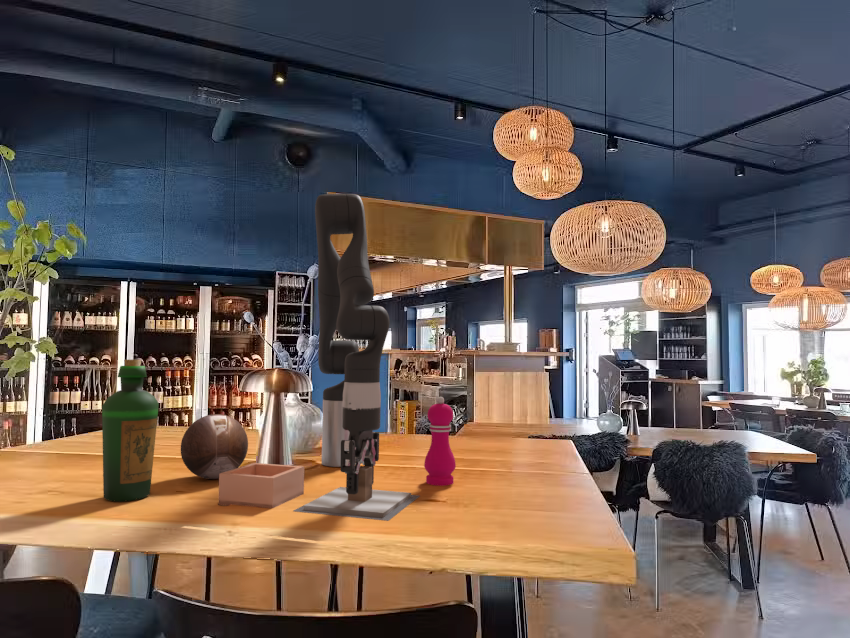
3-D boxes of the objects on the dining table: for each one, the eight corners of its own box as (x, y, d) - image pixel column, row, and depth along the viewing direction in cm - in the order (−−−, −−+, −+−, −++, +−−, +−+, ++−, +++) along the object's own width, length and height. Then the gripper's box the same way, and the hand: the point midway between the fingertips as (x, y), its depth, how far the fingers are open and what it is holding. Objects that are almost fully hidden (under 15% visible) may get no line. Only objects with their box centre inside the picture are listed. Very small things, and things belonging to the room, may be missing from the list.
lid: (340, 490, 123) (340, 458, 124) (411, 496, 119) (411, 463, 119) (303, 509, 108) (304, 472, 109) (383, 517, 103) (384, 479, 104)
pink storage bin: (253, 491, 124) (254, 462, 124) (303, 495, 120) (304, 466, 121) (218, 504, 112) (219, 473, 113) (272, 510, 109) (273, 478, 109)
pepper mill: (452, 488, 128) (453, 398, 129) (421, 486, 130) (422, 397, 131) (457, 481, 135) (458, 395, 137) (427, 479, 137) (428, 395, 138)
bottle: (146, 503, 113) (152, 360, 115) (88, 504, 111) (94, 359, 113) (162, 490, 124) (167, 359, 125) (108, 491, 122) (114, 359, 124)
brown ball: (198, 488, 125) (200, 419, 126) (168, 478, 136) (170, 414, 137) (259, 478, 137) (261, 414, 137) (227, 469, 147) (229, 410, 148)
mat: (336, 490, 125) (336, 488, 125) (420, 497, 120) (420, 495, 120) (292, 513, 107) (292, 510, 107) (388, 522, 102) (388, 520, 102)
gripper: (358, 401, 123) (357, 480, 122) (328, 407, 109) (326, 496, 108) (391, 403, 120) (390, 483, 119) (365, 409, 107) (363, 499, 106)
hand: (360, 489), depth 114 cm, fingers open, 7 cm apart
